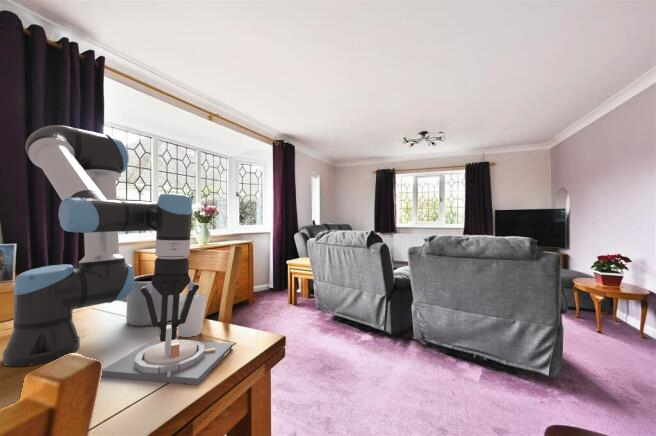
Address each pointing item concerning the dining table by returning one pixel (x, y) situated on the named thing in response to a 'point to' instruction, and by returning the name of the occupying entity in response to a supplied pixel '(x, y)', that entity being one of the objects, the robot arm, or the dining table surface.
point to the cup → (192, 315)
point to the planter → (144, 303)
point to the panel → (169, 365)
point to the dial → (178, 352)
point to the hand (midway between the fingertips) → (167, 353)
